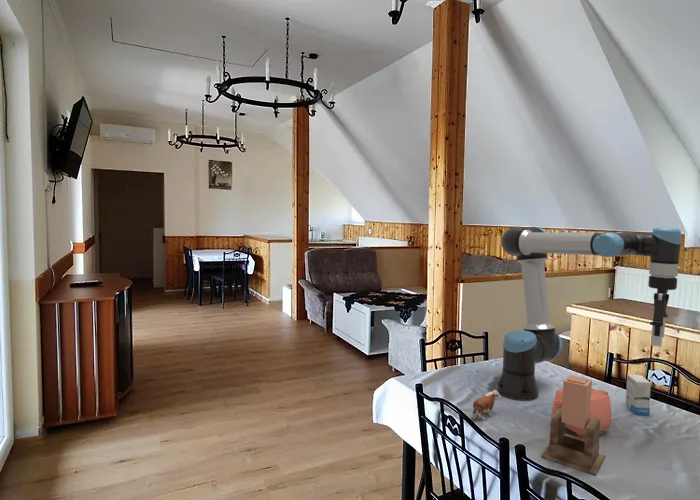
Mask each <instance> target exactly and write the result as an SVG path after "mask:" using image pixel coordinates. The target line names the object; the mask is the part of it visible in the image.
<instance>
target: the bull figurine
mask: <svg viewBox="0 0 700 500" xmlns="http://www.w3.org/2000/svg"><path fill="white" fill-rule="evenodd" d="M498 399H499V400H501V399H502V396H501V394H500V393H499V392H498V391H497V389H490V391H488V393H486V394H484V395H482V396H480V397H478V398H477V399H475V400H473V403H472V408H473V411H472V419H473V420H476V419H477V418H476V413H477V414H478V417H479V419H481V420H483V421H486V417H485V416H484V413H485V414H488V416H490V417H492V416H493V415H492V411H493V407H494V405H495V401H497V400H498Z"/></svg>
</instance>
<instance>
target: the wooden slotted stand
mask: <svg viewBox="0 0 700 500" xmlns="http://www.w3.org/2000/svg"><path fill="white" fill-rule="evenodd" d="M561 416H562V409H558V410H557V411H556V413H555V414H554V415H551V417H550V429H549V430H550V432H549V443H548V446H547V447H546V449H545V450H544V451H543V452H542V454H541V456H540V457H541V458H543V459H545V460H548V461H551V462H554V463H557V464H560V465H563V466H566V467H569V468H572V469H575V470H578V471H581V472H583V471H584V473H587V474H589V475H593V476H595V477H597V475H598V473H599V470H601V466H602V464H603V462H604V460H605V459H606V455H605V454H601V453H600V434H599V432H600V419H596V418H592V419H591V420H590V422H589V423H588V425H587V426H586V431H585V438H581V437H578V436H574V435H573V434H572V435H571V434H568V433H566V428H565V423H563V422H561Z"/></svg>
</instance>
